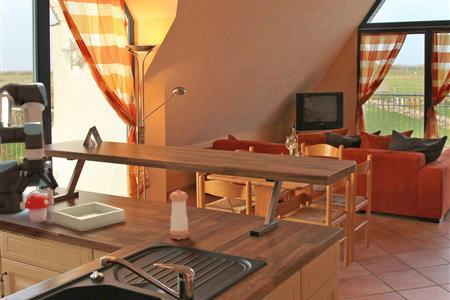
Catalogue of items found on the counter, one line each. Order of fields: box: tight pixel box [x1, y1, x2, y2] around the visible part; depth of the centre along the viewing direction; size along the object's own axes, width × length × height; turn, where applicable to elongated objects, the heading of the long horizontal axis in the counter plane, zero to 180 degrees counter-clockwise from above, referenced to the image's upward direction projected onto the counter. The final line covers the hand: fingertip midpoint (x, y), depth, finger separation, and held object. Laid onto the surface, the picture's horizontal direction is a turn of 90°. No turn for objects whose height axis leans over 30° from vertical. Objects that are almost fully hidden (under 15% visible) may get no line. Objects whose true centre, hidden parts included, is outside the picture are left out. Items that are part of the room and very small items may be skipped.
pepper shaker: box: [169, 189, 190, 235], centre depth 226 cm, size 7×7×19 cm
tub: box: [51, 201, 126, 232], centre depth 252 cm, size 22×22×5 cm
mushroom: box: [25, 193, 51, 223], centre depth 253 cm, size 11×11×12 cm
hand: (37, 206), depth 253 cm, fingers open, 13 cm apart
